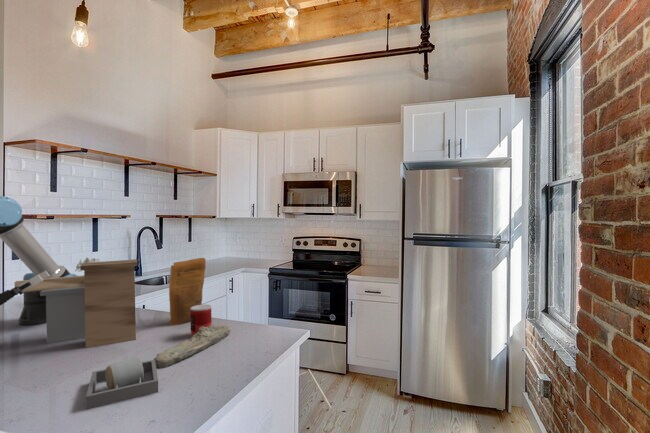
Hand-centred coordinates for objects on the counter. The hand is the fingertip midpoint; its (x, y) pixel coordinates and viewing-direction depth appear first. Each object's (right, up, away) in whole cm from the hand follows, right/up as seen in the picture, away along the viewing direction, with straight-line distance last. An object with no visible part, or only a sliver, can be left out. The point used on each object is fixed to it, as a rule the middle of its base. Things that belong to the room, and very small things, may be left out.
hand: (44, 275), depth 134 cm
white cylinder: (+55, -25, -39) cm, 72 cm away
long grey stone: (+63, -25, -10) cm, 68 cm away
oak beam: (+6, -5, +3) cm, 9 cm away
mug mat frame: (+53, -24, -38) cm, 70 cm away
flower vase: (-25, -26, +63) cm, 73 cm away
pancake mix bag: (+47, -25, +22) cm, 58 cm away
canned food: (+59, -25, +4) cm, 64 cm away
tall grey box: (+9, -25, +5) cm, 27 cm away
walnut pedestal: (+27, -25, 0) cm, 36 cm away
